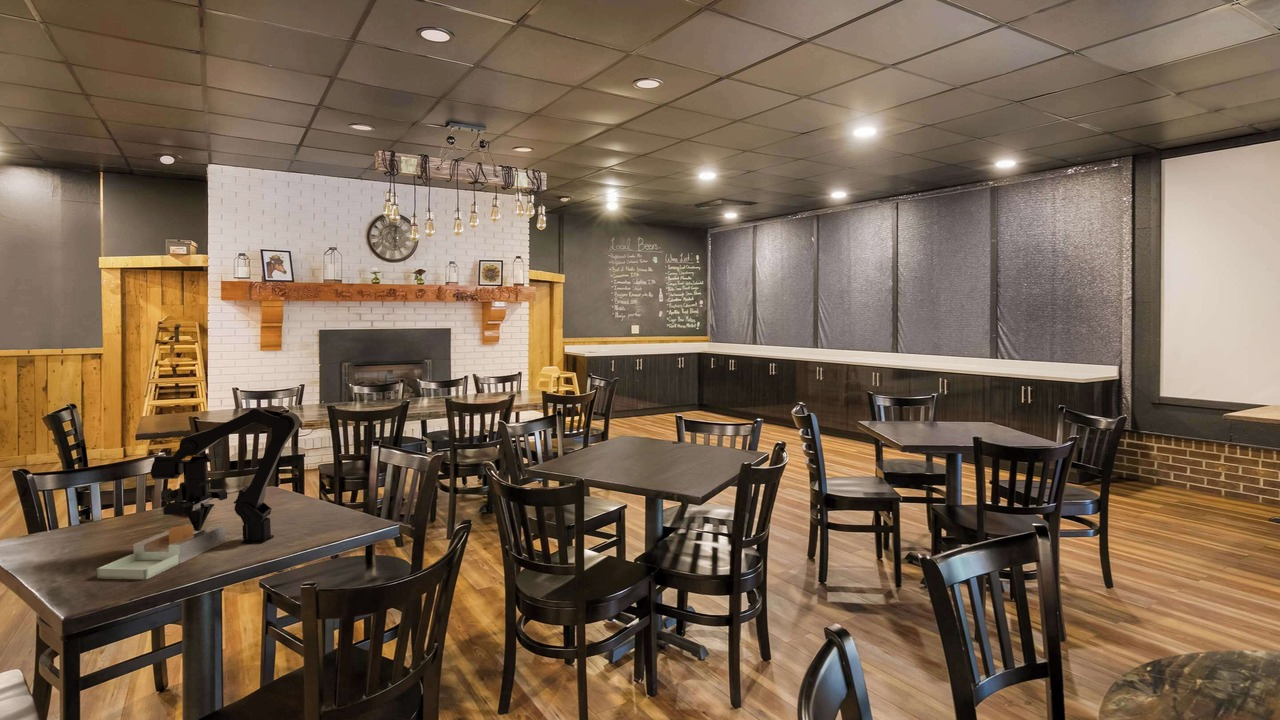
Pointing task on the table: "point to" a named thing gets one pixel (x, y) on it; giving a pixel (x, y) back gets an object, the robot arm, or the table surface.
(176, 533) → the peach toy brick
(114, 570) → the tray
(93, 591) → the table surface
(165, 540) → the slot rail
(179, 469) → the robot arm
